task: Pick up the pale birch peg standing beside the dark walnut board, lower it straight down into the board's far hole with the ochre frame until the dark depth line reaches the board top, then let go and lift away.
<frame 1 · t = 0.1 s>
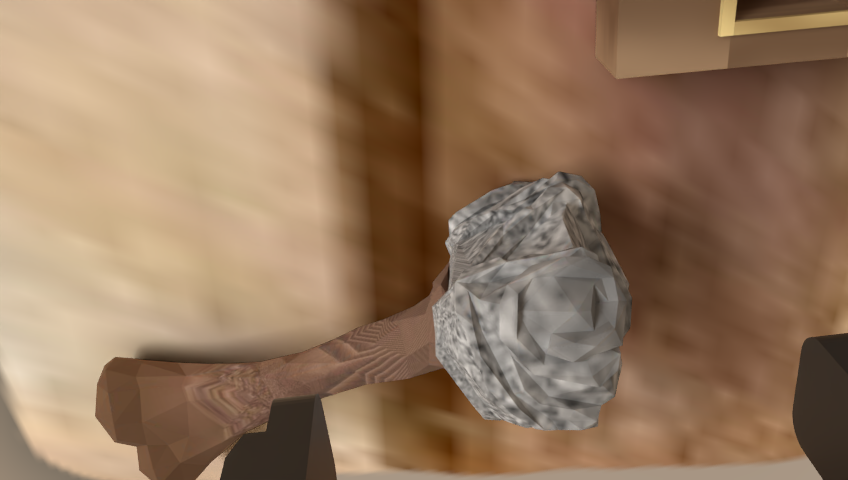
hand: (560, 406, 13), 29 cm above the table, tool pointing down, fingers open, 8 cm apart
hammer: (353, 296, 46), on the table
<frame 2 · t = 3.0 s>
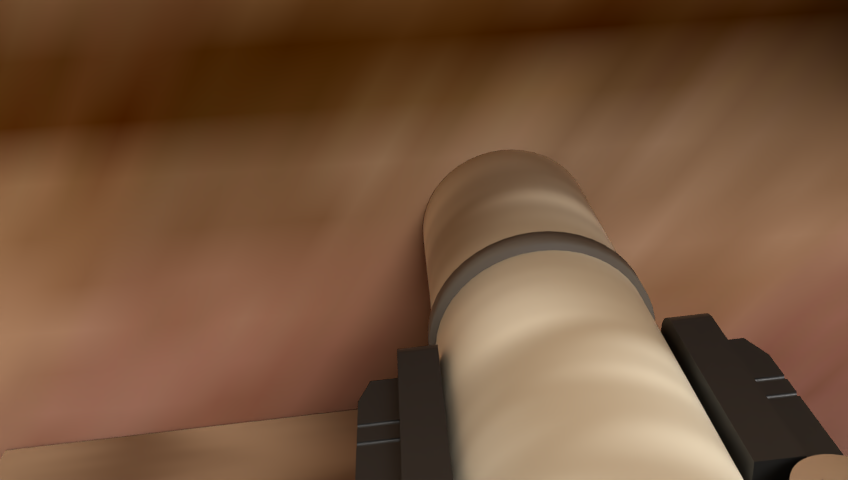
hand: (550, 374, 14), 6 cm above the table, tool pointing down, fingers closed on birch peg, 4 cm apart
birch peg: (505, 227, 19), on the table, touching gripper
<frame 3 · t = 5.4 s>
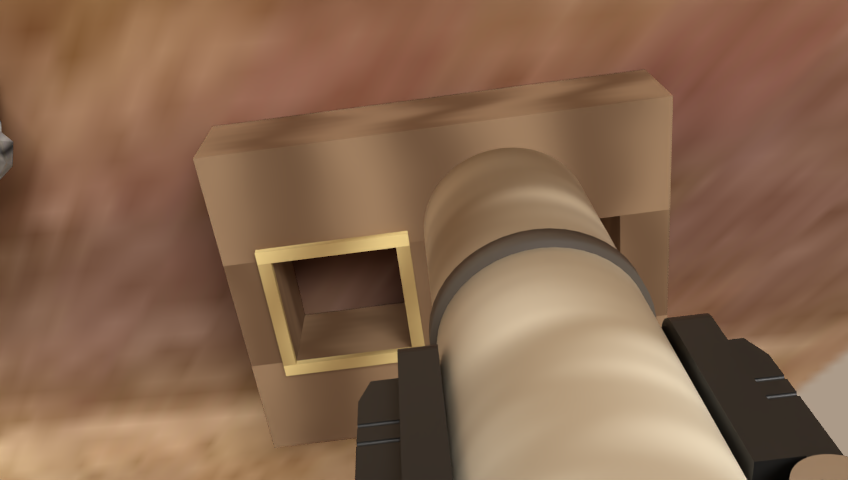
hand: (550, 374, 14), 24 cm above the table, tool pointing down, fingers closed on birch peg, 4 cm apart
birch peg: (506, 225, 19), point 18 cm above the table, touching gripper
walnut board: (446, 249, 40), on the table
when the fingers open (6 cm above the table, at t = 9.1 s): birch peg stays where it is, resting in walnut board.
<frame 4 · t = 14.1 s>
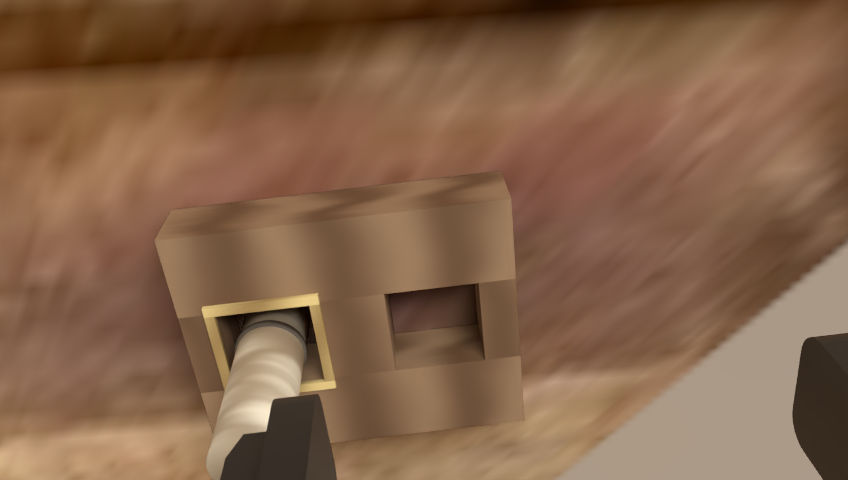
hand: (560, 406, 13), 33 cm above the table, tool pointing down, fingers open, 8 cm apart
birch peg: (279, 310, 51), resting in walnut board
walnut board: (355, 302, 51), on the table
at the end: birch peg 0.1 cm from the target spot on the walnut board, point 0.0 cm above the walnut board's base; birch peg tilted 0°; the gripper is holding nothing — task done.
